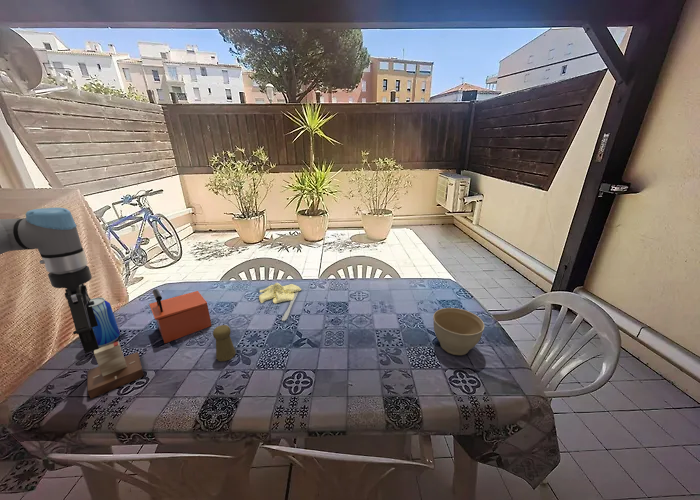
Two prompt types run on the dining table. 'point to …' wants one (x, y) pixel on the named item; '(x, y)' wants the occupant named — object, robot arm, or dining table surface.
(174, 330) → the orange box
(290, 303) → the butter knife
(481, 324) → the planter bowl
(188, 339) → the dining table surface
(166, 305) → the box lid
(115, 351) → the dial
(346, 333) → the dining table surface
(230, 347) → the cork
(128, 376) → the brown flat block
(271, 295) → the cloth
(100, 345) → the beer can
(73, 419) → the dining table surface
